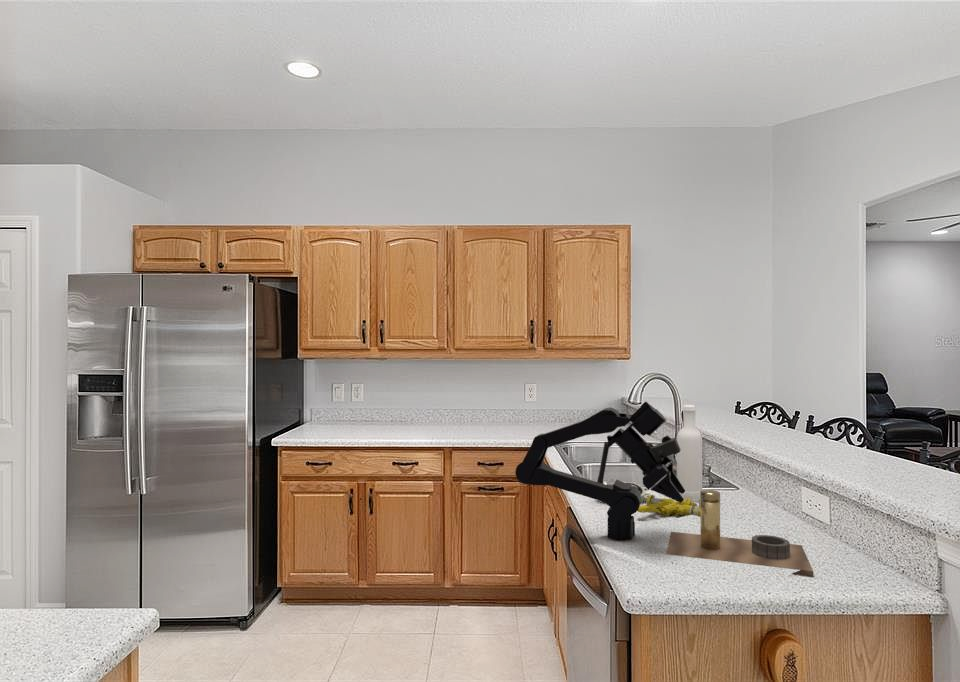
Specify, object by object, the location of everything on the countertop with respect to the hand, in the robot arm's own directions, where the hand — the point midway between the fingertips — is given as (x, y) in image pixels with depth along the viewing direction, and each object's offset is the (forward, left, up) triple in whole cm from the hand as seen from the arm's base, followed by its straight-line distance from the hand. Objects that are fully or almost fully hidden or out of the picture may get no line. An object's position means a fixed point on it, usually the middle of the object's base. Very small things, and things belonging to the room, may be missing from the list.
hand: (683, 496), depth 147 cm
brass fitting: (+3, -5, -11) cm, 13 cm away
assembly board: (+7, -10, -13) cm, 17 cm away
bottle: (+41, +29, -13) cm, 52 cm away
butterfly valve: (+22, +39, -13) cm, 47 cm away
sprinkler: (+22, +19, -13) cm, 32 cm away
